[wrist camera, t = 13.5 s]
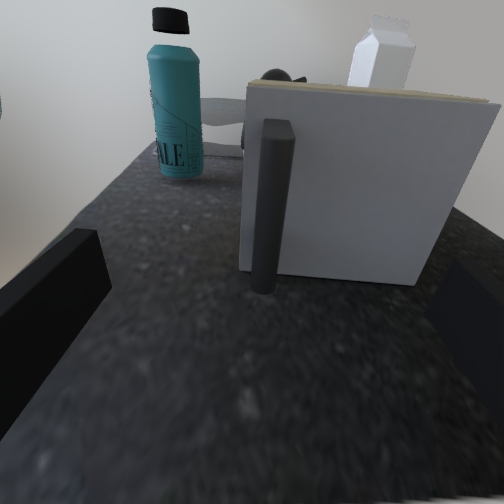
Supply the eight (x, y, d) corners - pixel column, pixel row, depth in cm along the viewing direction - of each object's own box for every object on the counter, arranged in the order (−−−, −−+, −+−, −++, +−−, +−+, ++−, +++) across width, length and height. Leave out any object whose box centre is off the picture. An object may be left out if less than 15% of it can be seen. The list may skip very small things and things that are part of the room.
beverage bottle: (205, 174, 46) (200, 15, 35) (204, 189, 40) (198, 6, 29) (164, 173, 45) (145, 10, 34) (156, 188, 39) (132, -1, 28)
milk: (375, 180, 49) (426, 17, 37) (344, 181, 47) (387, 11, 35) (356, 169, 54) (396, 22, 42) (328, 170, 52) (360, 17, 40)
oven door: (455, 347, 18) (613, 119, 11) (228, 326, 19) (234, 91, 11) (409, 278, 25) (491, 103, 17) (239, 264, 25) (247, 85, 17)
